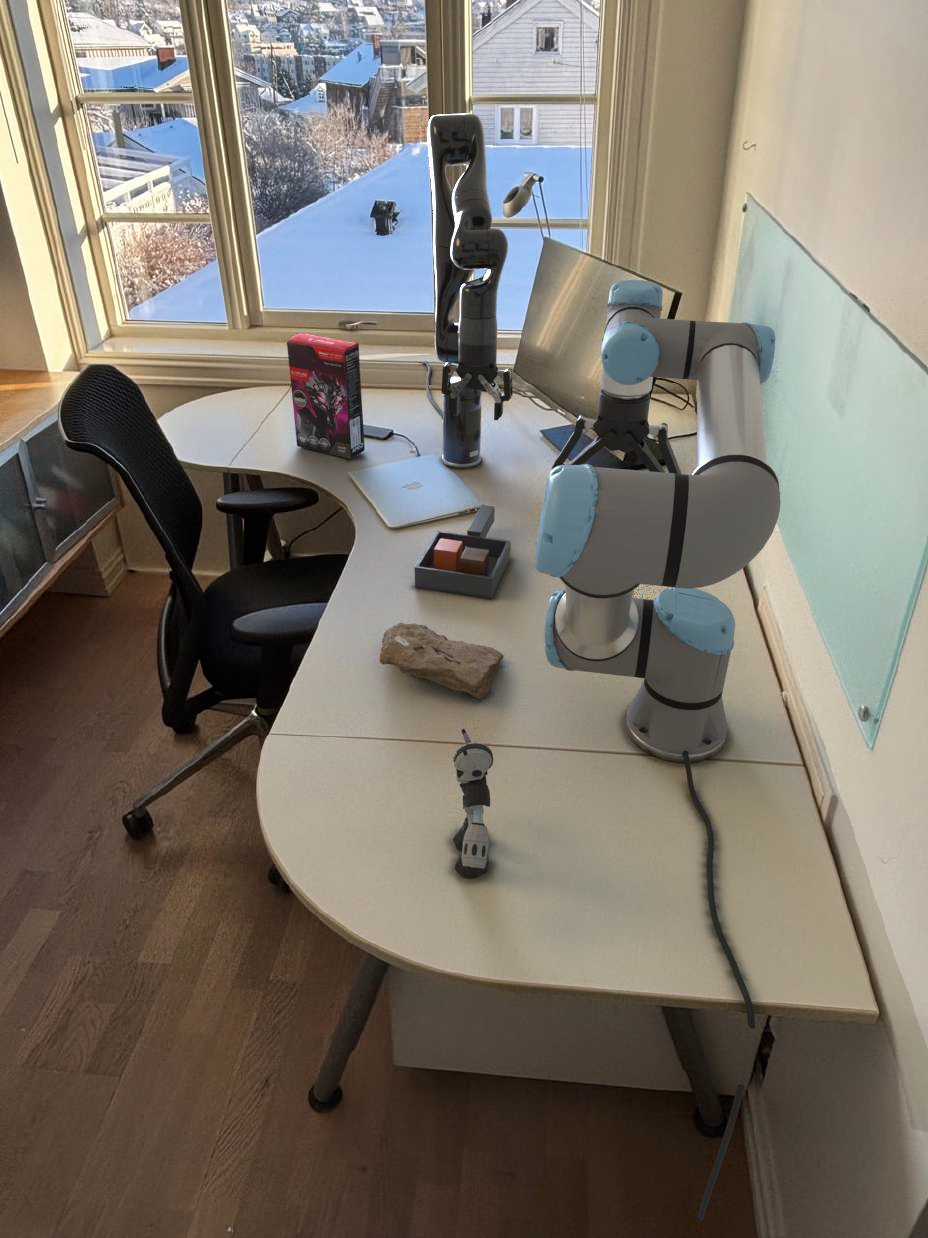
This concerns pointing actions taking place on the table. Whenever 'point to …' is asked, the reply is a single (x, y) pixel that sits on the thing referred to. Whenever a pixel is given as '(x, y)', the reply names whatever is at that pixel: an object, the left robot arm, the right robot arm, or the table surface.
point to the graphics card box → (326, 394)
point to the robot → (473, 807)
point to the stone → (440, 658)
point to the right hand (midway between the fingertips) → (611, 518)
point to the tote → (474, 539)
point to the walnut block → (475, 561)
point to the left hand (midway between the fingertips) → (476, 416)
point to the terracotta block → (448, 555)
